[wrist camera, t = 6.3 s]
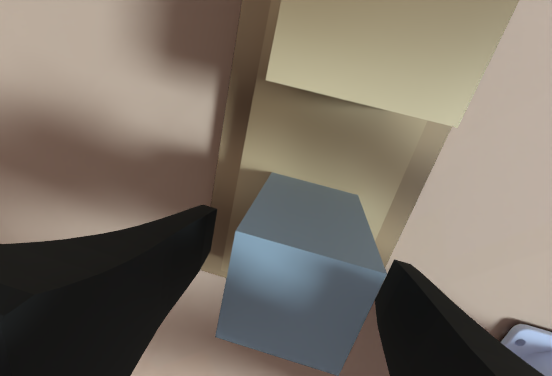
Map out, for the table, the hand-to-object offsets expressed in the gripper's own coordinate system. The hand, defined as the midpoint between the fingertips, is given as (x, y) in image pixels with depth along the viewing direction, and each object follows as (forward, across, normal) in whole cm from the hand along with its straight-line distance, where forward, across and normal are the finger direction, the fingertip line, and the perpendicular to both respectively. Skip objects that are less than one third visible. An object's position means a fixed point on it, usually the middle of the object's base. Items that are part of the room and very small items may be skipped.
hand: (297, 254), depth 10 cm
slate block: (+2, 0, 0) cm, 2 cm away
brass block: (+2, 0, -8) cm, 8 cm away
